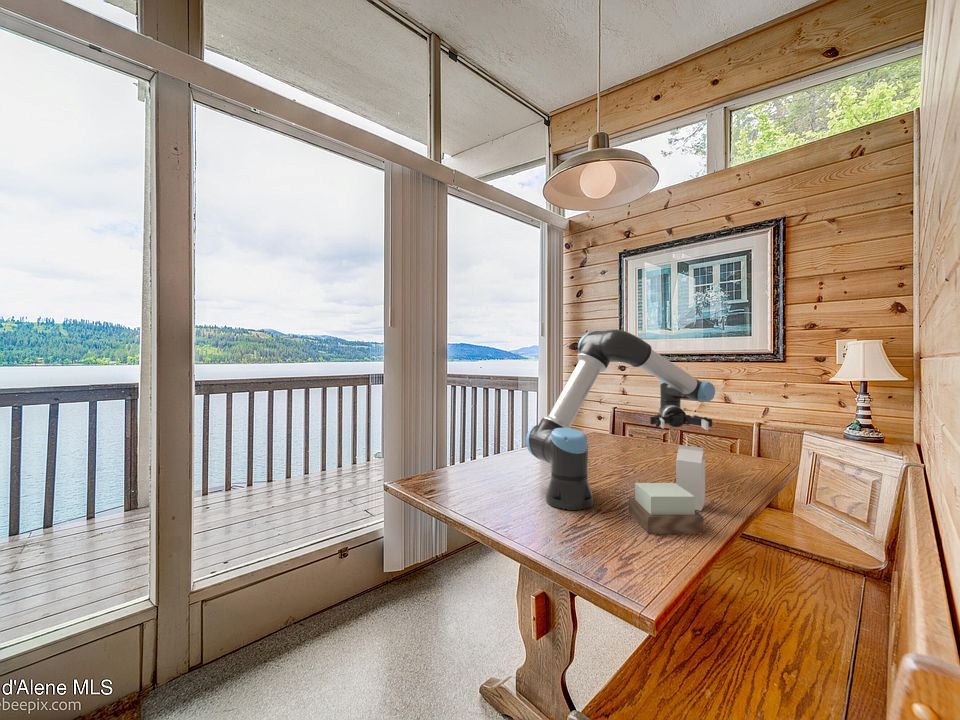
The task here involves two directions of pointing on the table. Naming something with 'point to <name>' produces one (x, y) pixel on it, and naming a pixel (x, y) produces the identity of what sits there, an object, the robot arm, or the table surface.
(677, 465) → the milk carton
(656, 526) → the tower base
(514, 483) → the table surface
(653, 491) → the tower top
